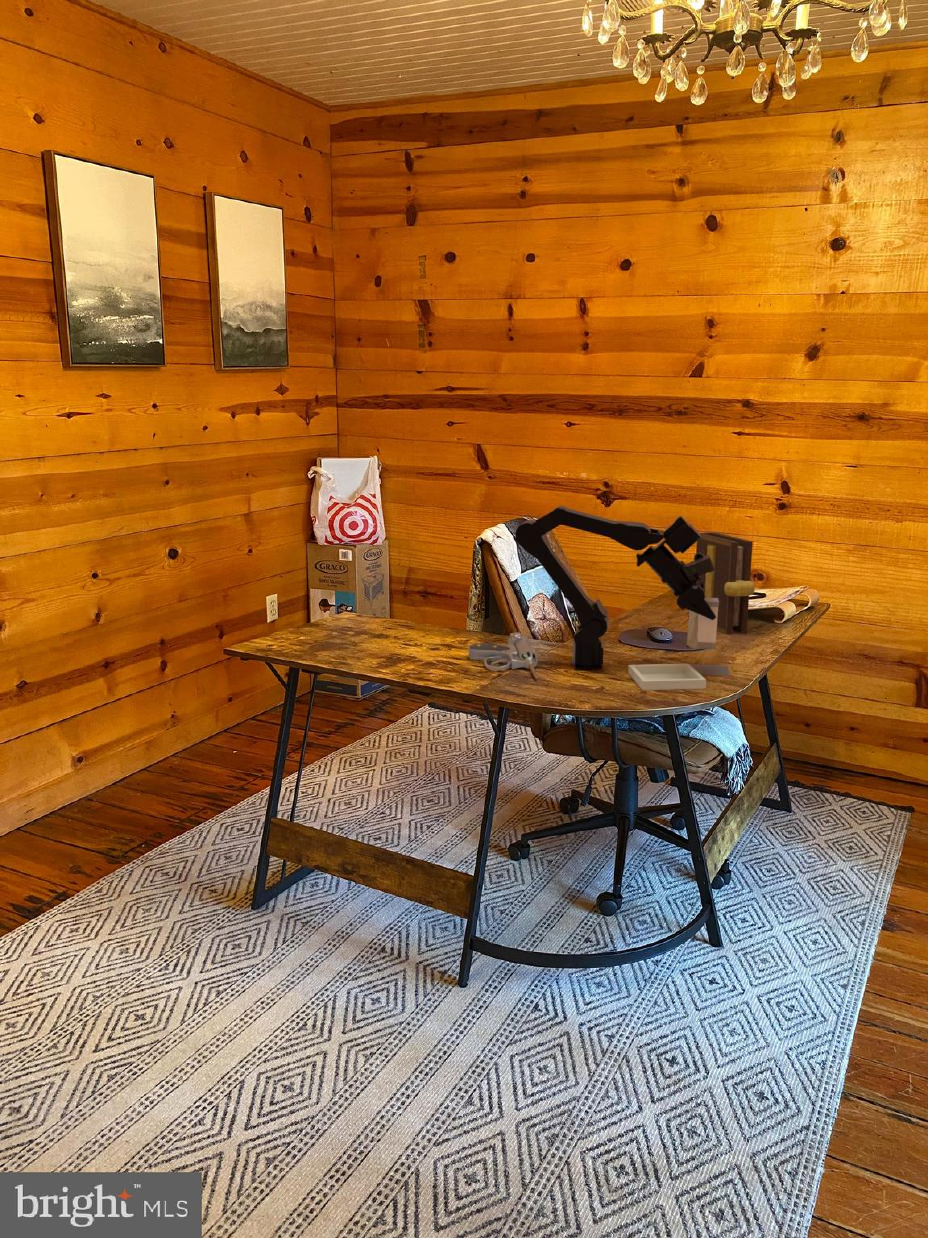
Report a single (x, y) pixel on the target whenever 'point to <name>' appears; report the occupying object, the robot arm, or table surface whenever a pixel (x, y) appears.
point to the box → (693, 630)
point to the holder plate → (711, 669)
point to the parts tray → (666, 677)
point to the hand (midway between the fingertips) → (714, 616)
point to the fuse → (708, 627)
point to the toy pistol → (506, 653)
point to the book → (728, 578)
